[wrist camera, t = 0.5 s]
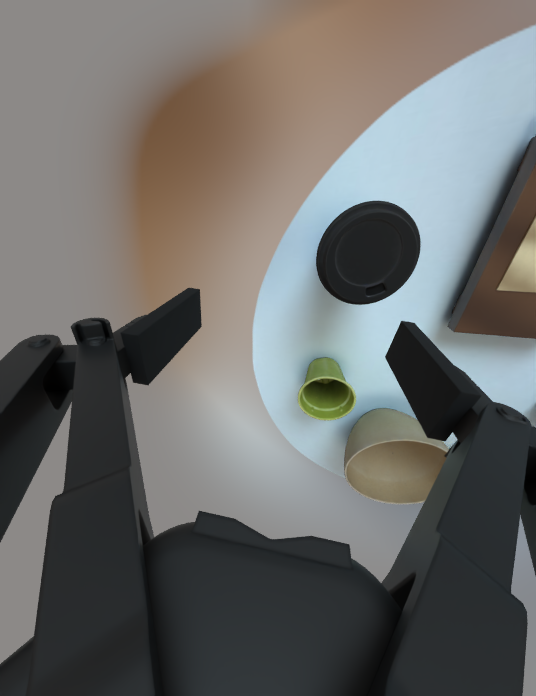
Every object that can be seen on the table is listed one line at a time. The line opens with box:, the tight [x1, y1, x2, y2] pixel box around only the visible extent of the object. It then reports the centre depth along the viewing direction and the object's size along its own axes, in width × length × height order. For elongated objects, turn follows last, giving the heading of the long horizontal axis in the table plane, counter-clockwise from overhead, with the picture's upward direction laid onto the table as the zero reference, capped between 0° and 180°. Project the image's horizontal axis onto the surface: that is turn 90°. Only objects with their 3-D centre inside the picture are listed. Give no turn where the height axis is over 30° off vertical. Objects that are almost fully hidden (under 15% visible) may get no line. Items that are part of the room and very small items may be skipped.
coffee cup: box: [316, 201, 420, 305], centre depth 28 cm, size 9×9×15 cm
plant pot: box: [298, 358, 356, 420], centre depth 42 cm, size 9×9×9 cm
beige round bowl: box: [344, 408, 449, 504], centre depth 45 cm, size 18×18×12 cm
